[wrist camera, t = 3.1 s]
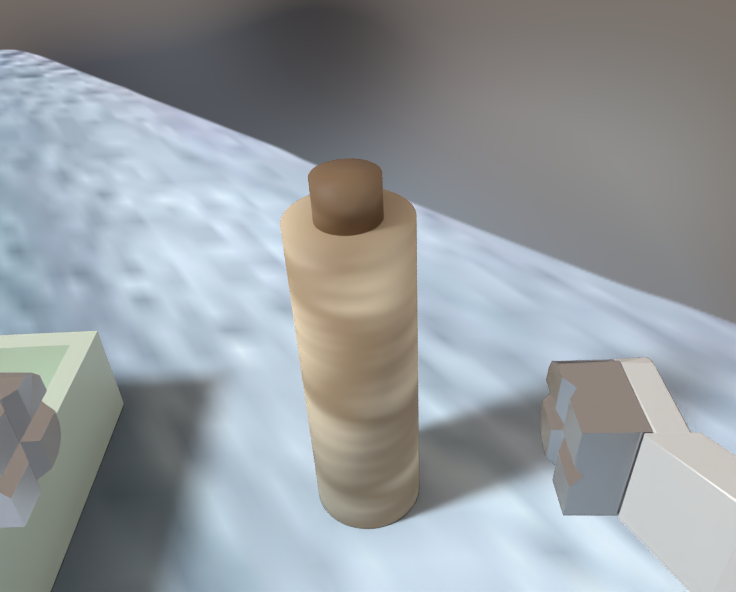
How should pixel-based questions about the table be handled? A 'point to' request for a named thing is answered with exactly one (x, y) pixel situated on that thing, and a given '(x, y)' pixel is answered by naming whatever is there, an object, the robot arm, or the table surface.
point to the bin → (76, 452)
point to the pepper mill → (357, 339)
